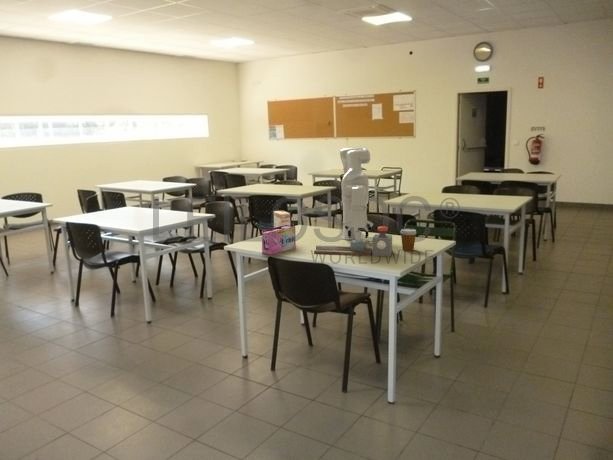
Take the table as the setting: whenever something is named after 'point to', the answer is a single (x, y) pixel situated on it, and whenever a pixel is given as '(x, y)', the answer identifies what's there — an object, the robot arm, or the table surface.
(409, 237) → the disposable coffee cup
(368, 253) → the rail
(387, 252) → the gauge cabinet
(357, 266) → the table surface
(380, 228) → the gauge button
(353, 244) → the carriage
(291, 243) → the gum box
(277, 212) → the coffeecake box
